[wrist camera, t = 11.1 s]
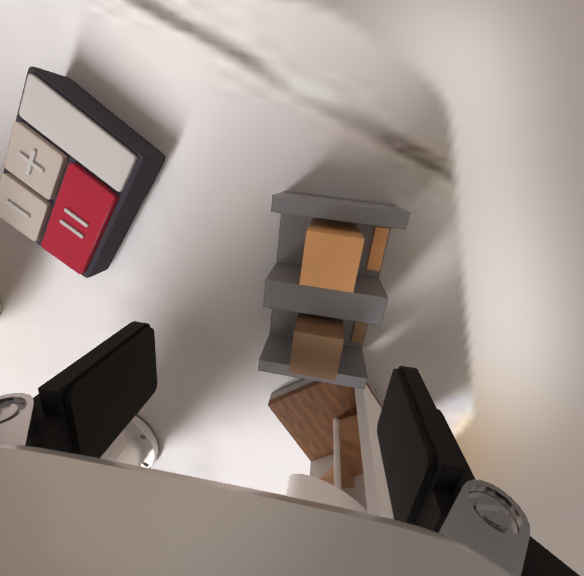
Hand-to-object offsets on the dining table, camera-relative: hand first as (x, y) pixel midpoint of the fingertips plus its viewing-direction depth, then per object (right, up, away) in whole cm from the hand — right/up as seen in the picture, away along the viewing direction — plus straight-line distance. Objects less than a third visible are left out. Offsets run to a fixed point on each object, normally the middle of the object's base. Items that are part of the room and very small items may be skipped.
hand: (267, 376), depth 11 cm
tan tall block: (+5, +8, +16) cm, 18 cm away
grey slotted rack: (+4, +4, +18) cm, 19 cm away
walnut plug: (+4, 0, +19) cm, 19 cm away
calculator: (-20, +14, +19) cm, 31 cm away
